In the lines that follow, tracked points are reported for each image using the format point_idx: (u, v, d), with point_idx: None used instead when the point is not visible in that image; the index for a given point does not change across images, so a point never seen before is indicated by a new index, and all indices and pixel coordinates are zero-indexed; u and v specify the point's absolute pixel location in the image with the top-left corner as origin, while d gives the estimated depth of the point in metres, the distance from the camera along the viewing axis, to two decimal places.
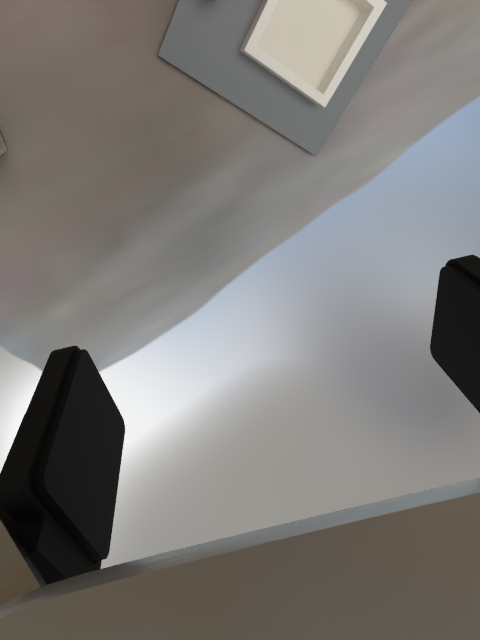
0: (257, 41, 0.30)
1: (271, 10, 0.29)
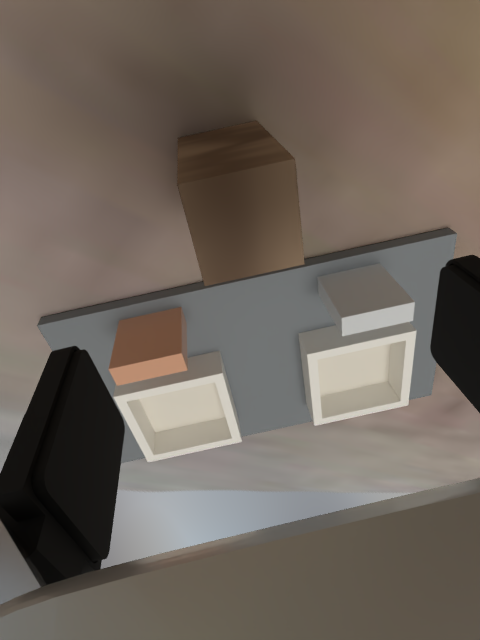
0: (129, 400, 0.28)
1: (157, 393, 0.28)
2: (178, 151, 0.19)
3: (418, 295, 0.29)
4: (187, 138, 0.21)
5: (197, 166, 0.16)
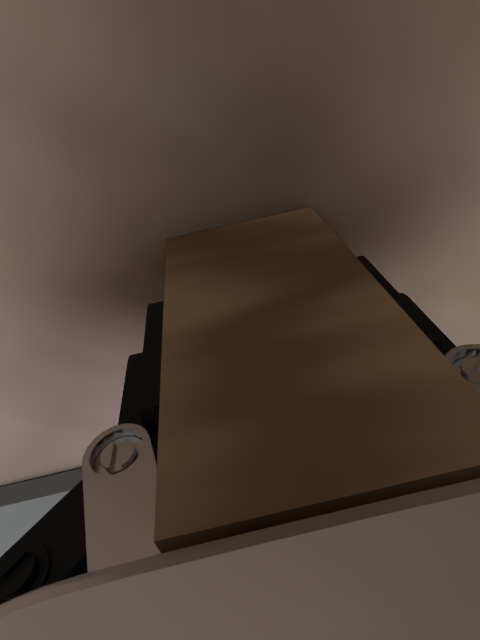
0: None
1: None
2: (165, 297, 0.09)
3: None
4: (184, 245, 0.11)
5: (212, 401, 0.06)
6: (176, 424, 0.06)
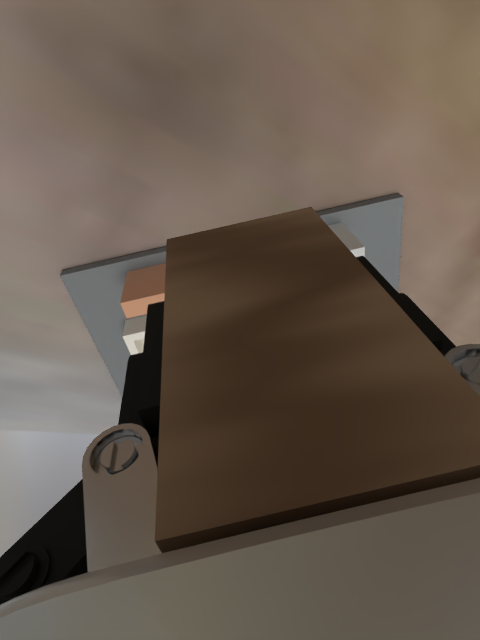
0: (136, 339, 0.34)
1: None
2: (165, 297, 0.09)
3: (376, 251, 0.35)
4: (184, 245, 0.11)
5: (212, 401, 0.06)
6: (176, 424, 0.06)
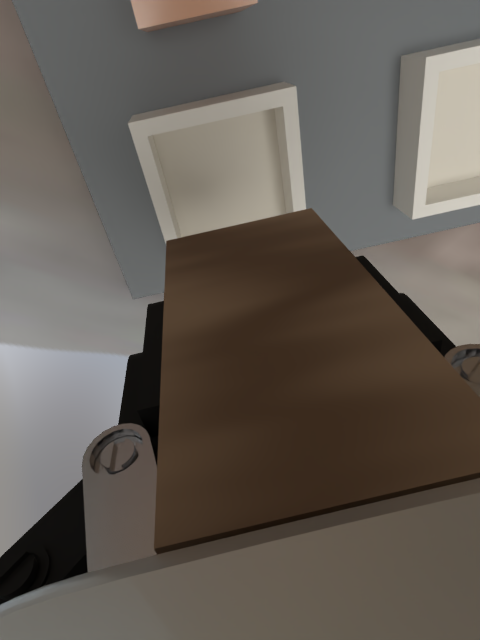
0: (152, 132, 0.18)
1: (195, 121, 0.18)
2: (165, 299, 0.09)
3: None
4: (184, 247, 0.11)
5: (212, 406, 0.06)
6: (176, 429, 0.06)
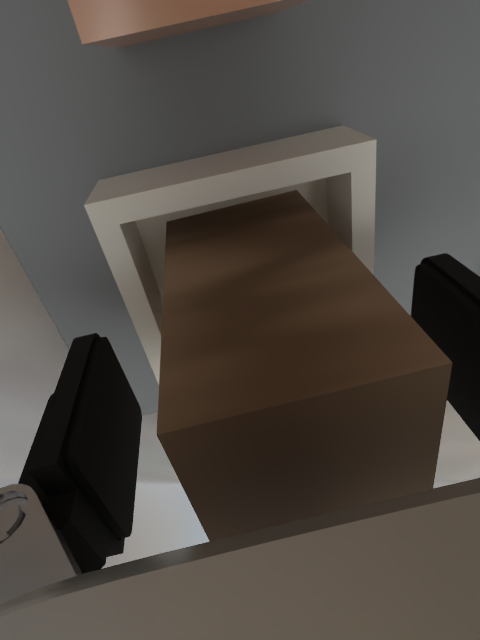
0: (128, 218, 0.11)
1: (202, 199, 0.11)
2: (165, 267, 0.10)
3: None
4: (182, 226, 0.13)
5: (204, 341, 0.07)
6: (174, 358, 0.07)
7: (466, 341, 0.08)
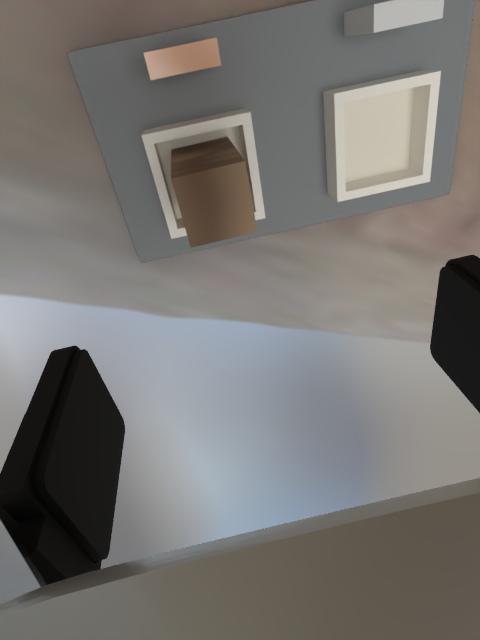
0: (157, 141, 0.28)
1: (185, 134, 0.28)
2: (171, 158, 0.28)
3: (440, 49, 0.30)
4: (178, 149, 0.30)
5: (184, 167, 0.25)
6: (175, 170, 0.25)
7: None
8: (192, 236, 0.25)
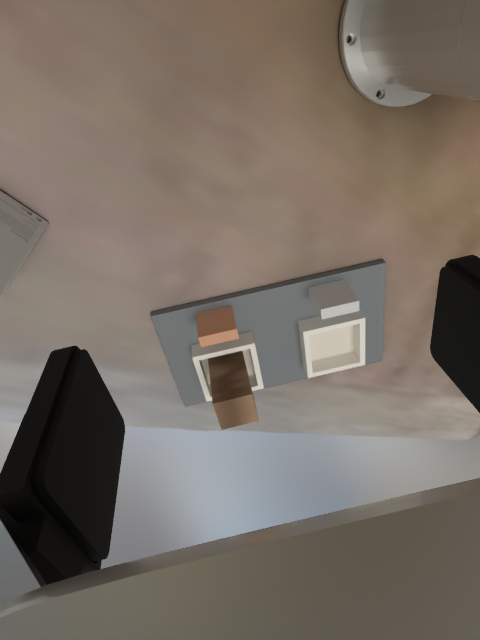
0: (200, 359, 0.49)
1: (217, 355, 0.49)
2: (209, 370, 0.48)
3: (367, 297, 0.50)
4: None
5: (218, 389, 0.45)
6: (213, 392, 0.45)
7: None
8: (222, 425, 0.46)
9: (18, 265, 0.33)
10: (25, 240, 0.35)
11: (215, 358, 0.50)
